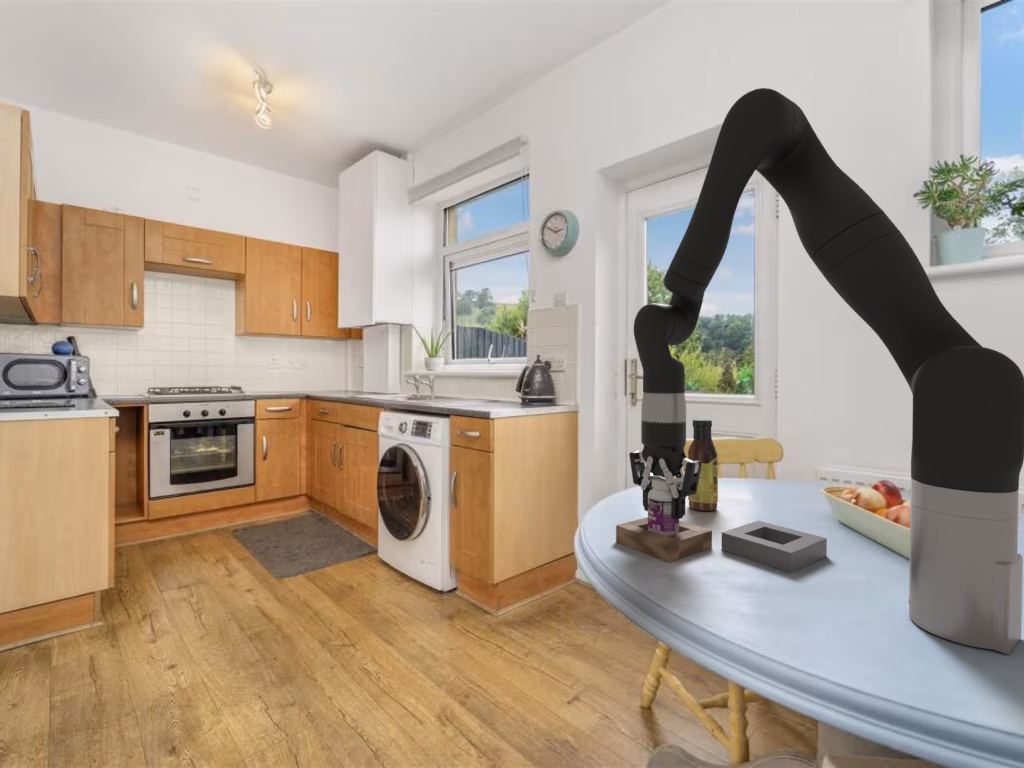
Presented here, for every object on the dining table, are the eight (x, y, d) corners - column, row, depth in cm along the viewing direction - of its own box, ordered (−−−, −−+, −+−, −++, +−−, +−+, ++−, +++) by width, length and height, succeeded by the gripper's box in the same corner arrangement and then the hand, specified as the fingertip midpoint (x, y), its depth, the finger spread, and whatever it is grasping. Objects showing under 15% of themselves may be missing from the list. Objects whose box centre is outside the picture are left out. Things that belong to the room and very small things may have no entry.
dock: (711, 547, 83) (712, 530, 83) (668, 562, 77) (669, 543, 77) (658, 529, 93) (658, 514, 93) (616, 541, 87) (616, 525, 86)
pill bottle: (641, 530, 87) (641, 477, 86) (666, 527, 88) (666, 475, 88) (659, 540, 81) (659, 483, 81) (685, 536, 83) (686, 481, 83)
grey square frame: (826, 556, 79) (826, 538, 79) (791, 572, 73) (791, 552, 73) (758, 536, 89) (758, 520, 89) (721, 549, 82) (721, 532, 82)
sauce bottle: (720, 513, 104) (721, 421, 103) (690, 511, 105) (690, 421, 105) (714, 504, 110) (714, 418, 110) (685, 503, 112) (686, 418, 111)
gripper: (713, 420, 81) (712, 521, 81) (645, 414, 92) (645, 502, 93) (685, 423, 76) (684, 529, 77) (618, 416, 88) (617, 508, 89)
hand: (663, 513), depth 85 cm, fingers closed on pill bottle, 5 cm apart
